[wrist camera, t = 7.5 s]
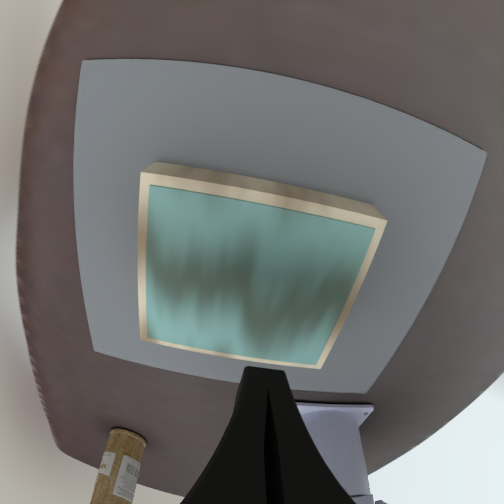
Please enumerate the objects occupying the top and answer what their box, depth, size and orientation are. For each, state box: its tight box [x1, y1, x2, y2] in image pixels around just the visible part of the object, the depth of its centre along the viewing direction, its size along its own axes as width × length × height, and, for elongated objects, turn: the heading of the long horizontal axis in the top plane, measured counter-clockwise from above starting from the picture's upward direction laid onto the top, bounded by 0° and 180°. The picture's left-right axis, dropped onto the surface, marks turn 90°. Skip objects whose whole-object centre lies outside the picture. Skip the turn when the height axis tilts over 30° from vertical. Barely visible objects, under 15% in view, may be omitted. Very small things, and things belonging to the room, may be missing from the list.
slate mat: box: [74, 59, 487, 393], centre depth 17 cm, size 20×22×1 cm
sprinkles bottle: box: [90, 428, 146, 504], centre depth 23 cm, size 5×5×14 cm
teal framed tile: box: [138, 162, 387, 369], centre depth 16 cm, size 10×2×11 cm
